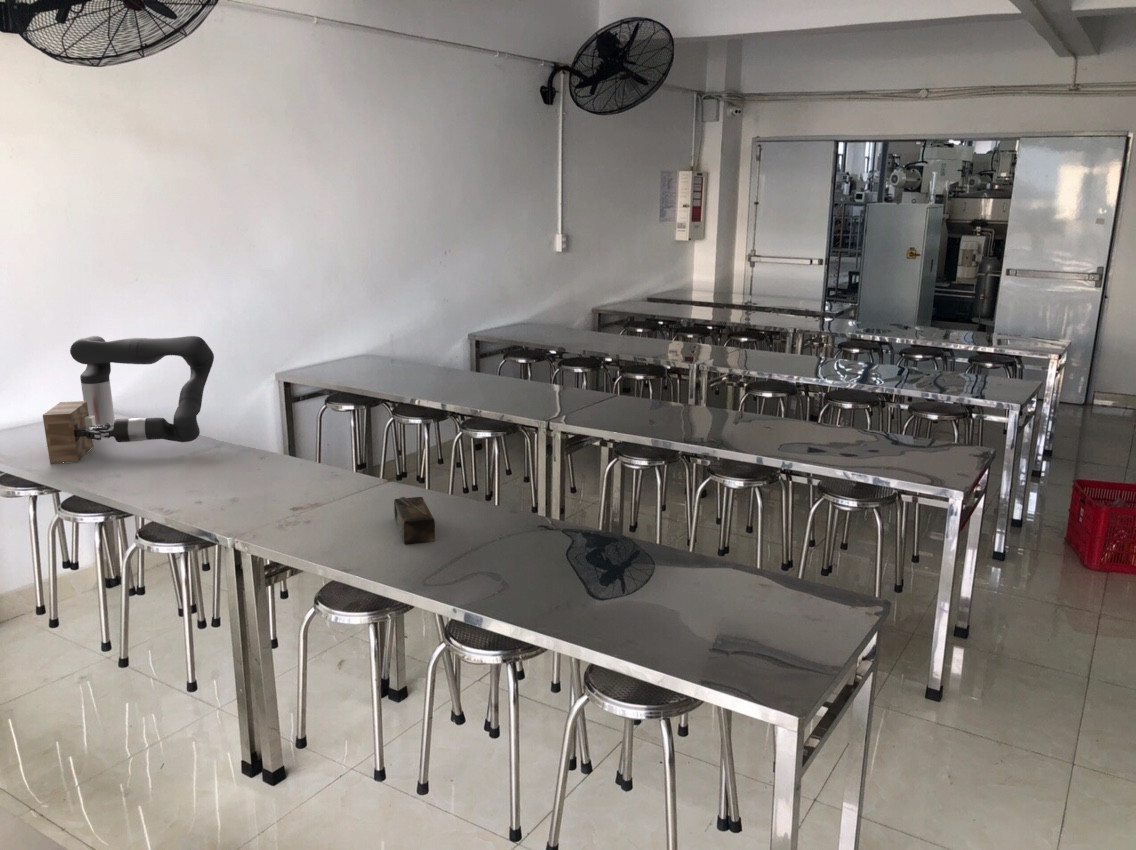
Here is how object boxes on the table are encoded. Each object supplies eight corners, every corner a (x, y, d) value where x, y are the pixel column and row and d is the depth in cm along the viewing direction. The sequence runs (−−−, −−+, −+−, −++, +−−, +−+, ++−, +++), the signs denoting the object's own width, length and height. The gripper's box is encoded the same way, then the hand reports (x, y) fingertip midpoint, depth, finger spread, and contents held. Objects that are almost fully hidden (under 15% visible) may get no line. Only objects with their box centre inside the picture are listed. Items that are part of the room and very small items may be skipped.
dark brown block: (424, 516, 238) (423, 493, 237) (436, 543, 221) (435, 517, 219) (394, 519, 236) (392, 496, 234) (404, 546, 218) (402, 521, 217)
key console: (67, 448, 300) (60, 402, 296) (93, 447, 302) (86, 400, 298) (50, 464, 283) (42, 414, 279) (77, 462, 285) (70, 413, 281)
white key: (79, 429, 298) (77, 416, 297) (96, 428, 299) (94, 415, 298) (76, 431, 295) (74, 418, 294) (93, 430, 296) (91, 418, 295)
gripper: (128, 446, 283) (68, 450, 280) (138, 435, 296) (80, 439, 292) (125, 423, 282) (65, 426, 278) (135, 413, 294) (77, 416, 290)
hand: (73, 433), depth 285 cm, fingers closed
